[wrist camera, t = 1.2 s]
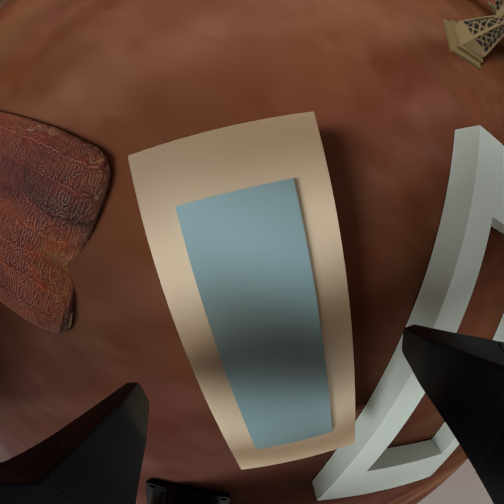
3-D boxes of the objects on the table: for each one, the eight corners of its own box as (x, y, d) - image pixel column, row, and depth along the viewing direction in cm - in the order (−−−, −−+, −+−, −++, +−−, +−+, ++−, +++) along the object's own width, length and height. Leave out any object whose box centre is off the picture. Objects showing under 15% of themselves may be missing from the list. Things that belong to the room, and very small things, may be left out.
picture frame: (339, 408, 14) (355, 445, 11) (240, 431, 14) (241, 472, 11) (294, 130, 11) (315, 109, 8) (154, 163, 11) (125, 155, 8)
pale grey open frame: (421, 463, 16) (429, 476, 15) (311, 481, 15) (316, 500, 13) (540, 204, 12) (558, 207, 10) (455, 129, 11) (479, 125, 9)
